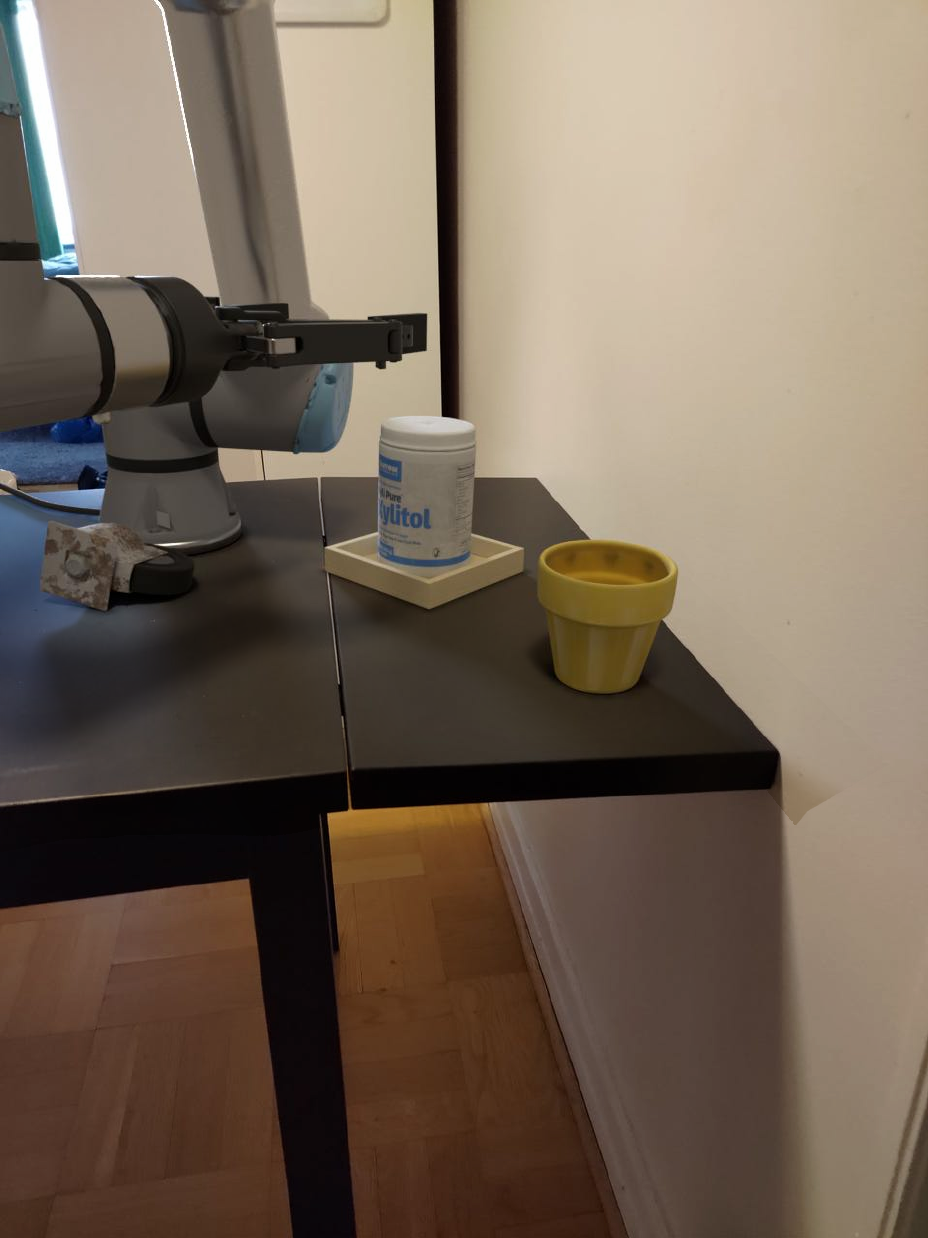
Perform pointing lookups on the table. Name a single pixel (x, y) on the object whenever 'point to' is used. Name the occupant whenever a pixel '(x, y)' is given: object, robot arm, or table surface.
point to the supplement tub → (425, 494)
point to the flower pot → (603, 609)
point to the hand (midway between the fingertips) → (351, 325)
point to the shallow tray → (364, 568)
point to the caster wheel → (109, 564)
